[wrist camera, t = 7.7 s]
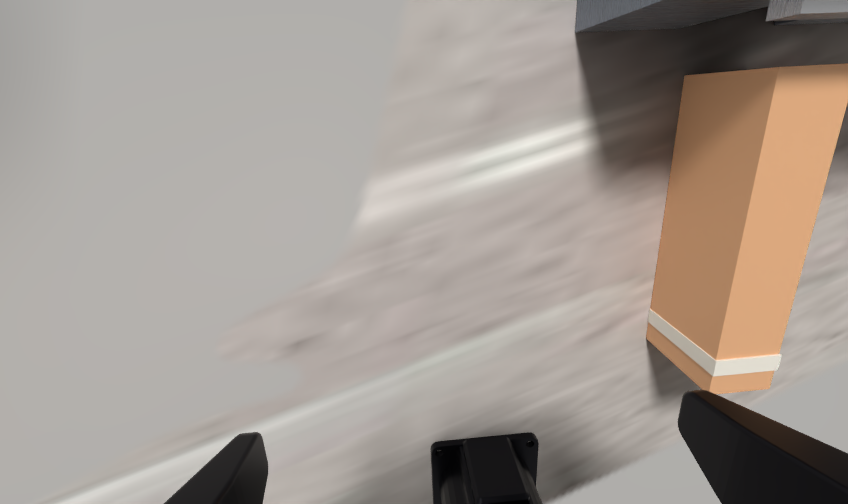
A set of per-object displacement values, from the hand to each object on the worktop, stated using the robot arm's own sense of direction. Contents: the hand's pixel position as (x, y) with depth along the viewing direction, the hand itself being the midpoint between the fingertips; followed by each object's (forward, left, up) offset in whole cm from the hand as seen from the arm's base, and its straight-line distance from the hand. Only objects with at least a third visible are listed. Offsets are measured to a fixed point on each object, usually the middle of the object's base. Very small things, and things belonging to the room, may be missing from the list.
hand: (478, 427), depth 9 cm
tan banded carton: (0, -14, -13) cm, 19 cm away
